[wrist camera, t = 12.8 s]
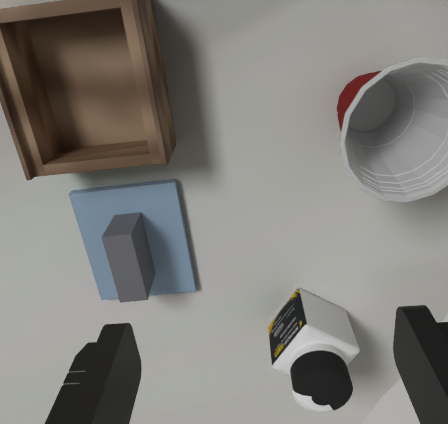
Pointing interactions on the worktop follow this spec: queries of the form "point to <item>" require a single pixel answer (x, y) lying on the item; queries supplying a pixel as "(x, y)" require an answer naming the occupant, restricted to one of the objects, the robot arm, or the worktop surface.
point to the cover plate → (156, 227)
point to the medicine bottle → (314, 351)
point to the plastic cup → (397, 130)
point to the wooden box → (84, 86)
